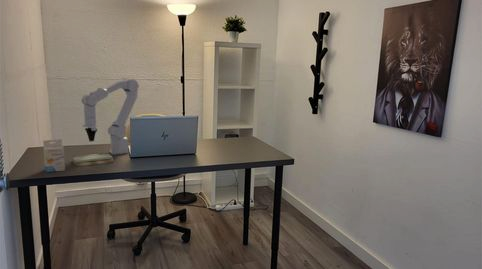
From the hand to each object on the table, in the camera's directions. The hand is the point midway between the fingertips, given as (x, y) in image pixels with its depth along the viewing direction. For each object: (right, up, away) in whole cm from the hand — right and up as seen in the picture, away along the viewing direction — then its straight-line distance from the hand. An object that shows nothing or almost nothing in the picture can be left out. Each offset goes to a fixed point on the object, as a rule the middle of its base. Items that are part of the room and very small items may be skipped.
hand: (91, 141), depth 198 cm
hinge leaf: (+3, -9, -6) cm, 11 cm away
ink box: (-9, -14, -22) cm, 28 cm away
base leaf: (+3, -11, -6) cm, 13 cm away
